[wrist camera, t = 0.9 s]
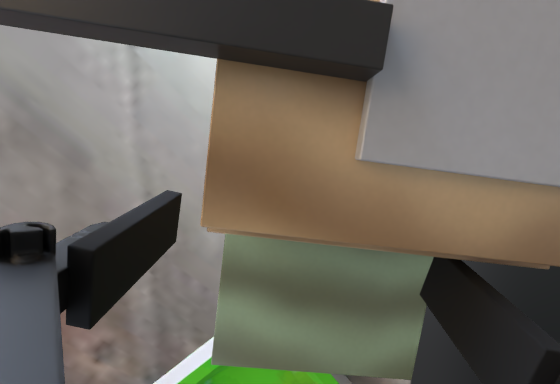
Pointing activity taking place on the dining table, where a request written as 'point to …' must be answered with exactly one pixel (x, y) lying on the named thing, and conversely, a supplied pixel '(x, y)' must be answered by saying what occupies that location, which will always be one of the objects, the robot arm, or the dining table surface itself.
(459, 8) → the spatula
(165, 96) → the dining table surface
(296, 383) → the tray
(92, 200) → the dining table surface
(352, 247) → the shelf stand
